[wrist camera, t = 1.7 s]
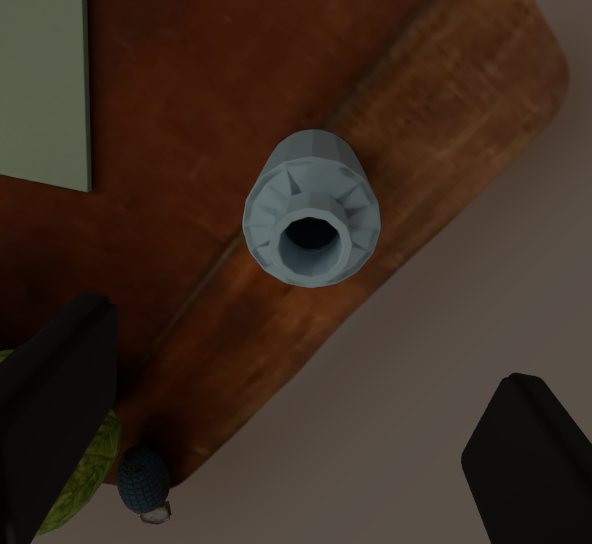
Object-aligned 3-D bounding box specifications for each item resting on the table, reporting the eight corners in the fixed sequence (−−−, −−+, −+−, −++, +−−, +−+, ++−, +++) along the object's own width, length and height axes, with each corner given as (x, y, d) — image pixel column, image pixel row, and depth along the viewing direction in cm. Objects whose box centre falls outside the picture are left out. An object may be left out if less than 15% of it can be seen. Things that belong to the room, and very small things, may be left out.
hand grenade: (155, 424, 39) (175, 488, 44) (105, 443, 38) (132, 506, 43) (162, 462, 36) (183, 526, 41) (108, 484, 34) (136, 548, 39)
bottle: (274, 119, 26) (245, 154, 15) (372, 140, 26) (410, 189, 16) (259, 213, 29) (224, 298, 18) (347, 231, 29) (364, 325, 18)
